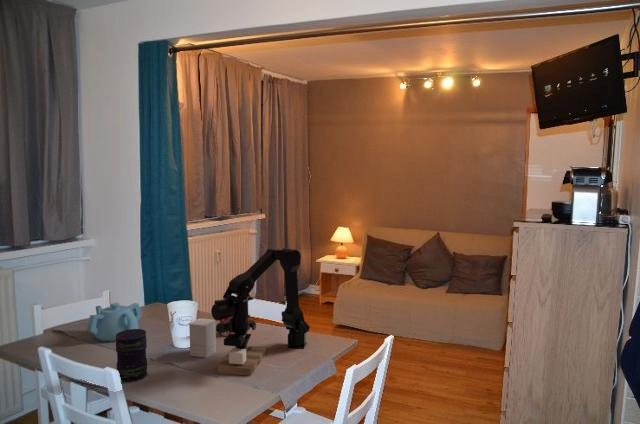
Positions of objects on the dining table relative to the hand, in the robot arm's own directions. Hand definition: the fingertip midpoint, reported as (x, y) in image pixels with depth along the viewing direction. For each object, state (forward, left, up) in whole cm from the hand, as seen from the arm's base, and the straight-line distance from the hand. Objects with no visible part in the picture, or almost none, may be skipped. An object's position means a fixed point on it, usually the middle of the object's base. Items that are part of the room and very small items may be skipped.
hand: (241, 355), depth 176 cm
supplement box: (+18, -8, -4) cm, 20 cm away
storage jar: (+34, +15, -4) cm, 37 cm away
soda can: (+16, -30, -4) cm, 34 cm away
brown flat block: (0, -2, -4) cm, 4 cm away
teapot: (+63, -21, -4) cm, 67 cm away
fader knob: (0, +4, -1) cm, 4 cm away
